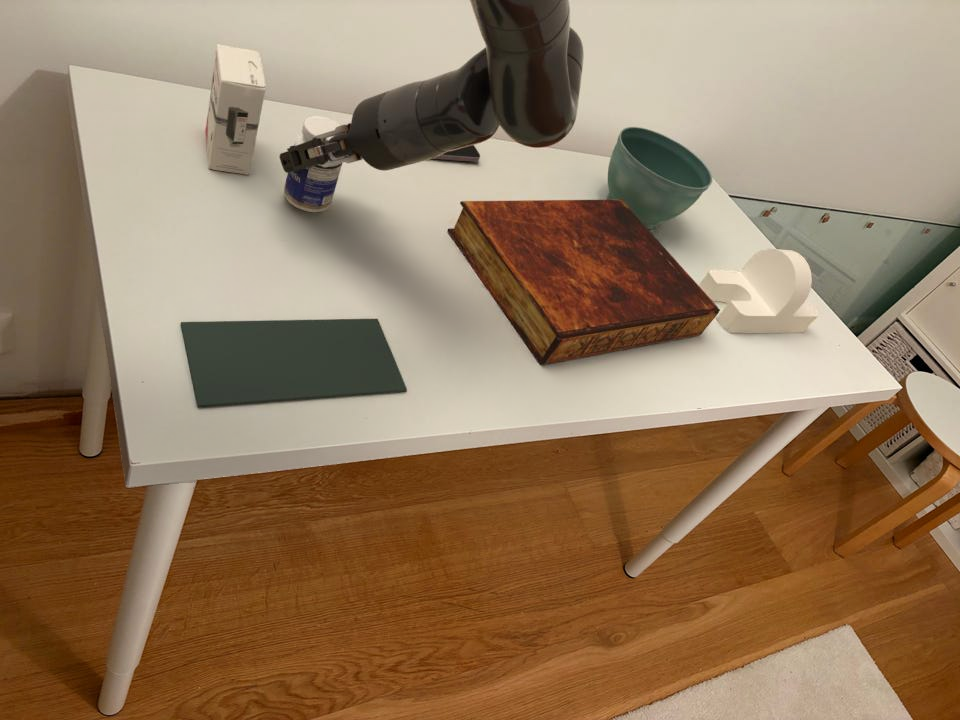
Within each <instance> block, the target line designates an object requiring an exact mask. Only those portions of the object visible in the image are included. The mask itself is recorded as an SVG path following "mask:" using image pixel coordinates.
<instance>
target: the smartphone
mask: <svg viewBox="0 0 960 720" xmlns="http://www.w3.org/2000/svg"><path fill="white" fill-rule="evenodd" d="M480 158H481V154H480V152H479V150H478V149H477V148H476V146H475V145H471V146H468V147H464V148H460V149H457V150H453V151H449V152H446V153H444V154H442V155H440V156H438V157H435V158H432V159H431V160H433V159H435V160H448V161H460V162H474V163H477V162H479V161H480Z"/></svg>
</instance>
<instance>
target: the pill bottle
mask: <svg viewBox="0 0 960 720" xmlns="http://www.w3.org/2000/svg"><path fill="white" fill-rule="evenodd" d="M341 125H342V124H340V123H339V122H338V121H336V120H334V119H332V118H329V117H326V116H321V115H311V116H309V117H307V118H305V120H304V122H303V125H302V129H301V134H300V135H299V136H298V137H296V139H295V141H294V143H293V146H296V145H299V144H302V143H305V142H308V141H310V140H313V139H312V138H314V136H317V135H320V134H324V133H327V132H330V131H333V130H335V128H336V127H338V126H341ZM330 138H332V137H329V138H327V139H326V140H325V144H329V140H330ZM329 156H330V158H331V159H332V160H336V159H340V158H343V157H340V158H335V157H334V156H333V155H332V153H329ZM342 166H343V163H340V164H336V165H333V166H329V167H326V168H324V167H322V166H321V165H316V166H312V167H311V168H310V169H307V168H305V169H302V170H303V171H299V172H298V171H292V172H289V173H286V174H287V175H286V179H285V182H284V183H285V184H284V189H283V195H284V197H285V199H286V201H288V203H289V204H290V205H292V206H293V207H295V208H297V209H299V210H301V211H303V212H304V211H305V212H308V213H320V212H324V211H326V210H327V209H328V208H330V206H331V204H332V202H333V198H334V196H335V195H334V194H335V191H336V187H337V184H338V180H339V176H340V173H341V170H342Z"/></svg>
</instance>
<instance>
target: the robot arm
mask: <svg viewBox="0 0 960 720" xmlns="http://www.w3.org/2000/svg"><path fill="white" fill-rule="evenodd" d="M469 2H470V6H471V8H472V11H473V13H474V17H475V20H476V23H477V26H478V30H479V32H480V34H481V37H482V39H483V42H484V44H485V47H484V48H482V49H481V50H480V51H478V52H477V53H476V54H475V55H473V56H472V57H471V58H469V59H468V60H467V61H466V62H465V63H464V64H463V65H462V66H460V67H459V68H457V69H454V70H451V71H448V72H445V73H442V74H440V75H437V76H435V77H431V78H429V79H424V80H418V81H413V82H409V83H407V84H404V85H401V86H398V87H396V88H392V89H390V90H387V91H384V92H382V93H379V94H377V95H373V96H370V97H368V98H365V99H364V100H362V101H361V102H359V103H358V104H357V105H356V107H355V109H354V110H353V113H352V117H351V122H348V123H344V124H340V125H341V126H338V127H336V128H335V130H333V131H330V132H327V133H324V134H320V135H317V136H314V138H312V139H313V140H310V141H308V142H305V143H302V144H299V145H296V146H294V145H290V146H289V147H288V148H287V149H286V151H284V152H281V153H280V154H279V160H280V163H281V166H282V169H283V171H284V172H285V173H286V174H288V173H289V172H292V171H298V172H299V171H303V170H302V169H305V168H307V169H310V168H311V167H312V166H316V165H321V166H322V167H324V168H326V167H329V166H333V165H336V164H340V163H342V164H343V163H345V164H352V163H355V162H359V161H362V160H363V161H364V162H365V163H366V164H368V165H369V166H370V167H372V168H373V169H376V170H378V171H385V172H386V171H390V170H391V171H392V170H395V169H398V168H403V167H406V166H410V165H413V164H414V165H415V164H418V163H422V162H426V161H429V160H433V159H432V158H435V157H438V156H440V155H442V154H444V153H446V152H449V151H453V150H457V149H460V148H464V147H468V146H471V145H474V146H475V145H478V144H481V143H483V142H486V141H488V140H489V139H491V138H492V137H493V136H495V134H496V132H497V131H498V129H499V127H500V129H502V131H503V132H504V133H505V134H506V135H507V136H508V137H509V138H510V139H512V140H513V141H514V142H516V143H518V144H520V145H521V146H524V147H528V148H535V149H541V148H548V147H551V146H554V145H556V144H558V143H559V142H560V141H562V140H564V138H566V137H567V136H568V135H569V133H570V132H571V130H572V129H573V127H574V125H575V122H576V119H577V116H578V109H579V101H580V91H581V84H582V78H583V77H582V76H583V75H582V74H583V68H584V58H585V54H584V53H585V51H584V45H583V41H582V40H581V37H580V36H579V34H578V32H577V31H576V30H575V29H573V28H572V27H571V8H570V2H569V0H469ZM329 137H332V138H330V140H329V144H325V140H326V139H327V138H329ZM329 153H332V155H333V156H334V157H335V158H340V157H343V158H340V159H336V160H332V159H331V158H330V156H329Z"/></svg>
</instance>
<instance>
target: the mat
mask: <svg viewBox="0 0 960 720" xmlns="http://www.w3.org/2000/svg"><path fill="white" fill-rule="evenodd" d="M180 329H181V334H182V339H183V343H184V348H185V353H186V359H187V364H188V369H189V373H190V377H191V383H192V387H193V392H194V397H195V403H196V407H197V408H198V409H201V408H213V407H228V406H239V405H253V404H265V403H279V402H281V403H282V402H291V401H292V402H293V401H294V402H295V401H303V400H305V401H307V400H318V399H331V398H343V397H357V396H370V395H371V396H372V395H383V394H395V393H406V392H407V391H408V388H407V386H406V384H405V381H404V379H403V377H402V374H401V372H400V368H399V367H398V363H397V362H396V360H395V359H396V358H395V357H394V355H393V352H392V350H391V347H390V345H389V342H388V340H387V338H386V335H385V333H384V330H383V328H382V325H381V323H380V320H379V319H378V318H332V319H331V318H329V319H328V318H327V319H277V320H276V319H275V320H274V319H273V320H272V319H271V320H222V321H221V320H220V321H219V320H218V321H214V320H213V321H211V320H210V321H181V322H180Z"/></svg>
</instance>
